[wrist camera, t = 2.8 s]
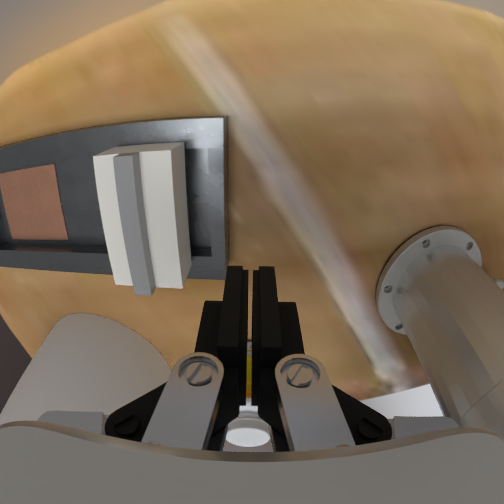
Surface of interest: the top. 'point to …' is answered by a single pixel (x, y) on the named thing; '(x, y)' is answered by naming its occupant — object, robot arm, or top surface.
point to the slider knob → (145, 214)
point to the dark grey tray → (86, 198)
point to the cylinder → (86, 370)
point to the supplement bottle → (248, 418)
